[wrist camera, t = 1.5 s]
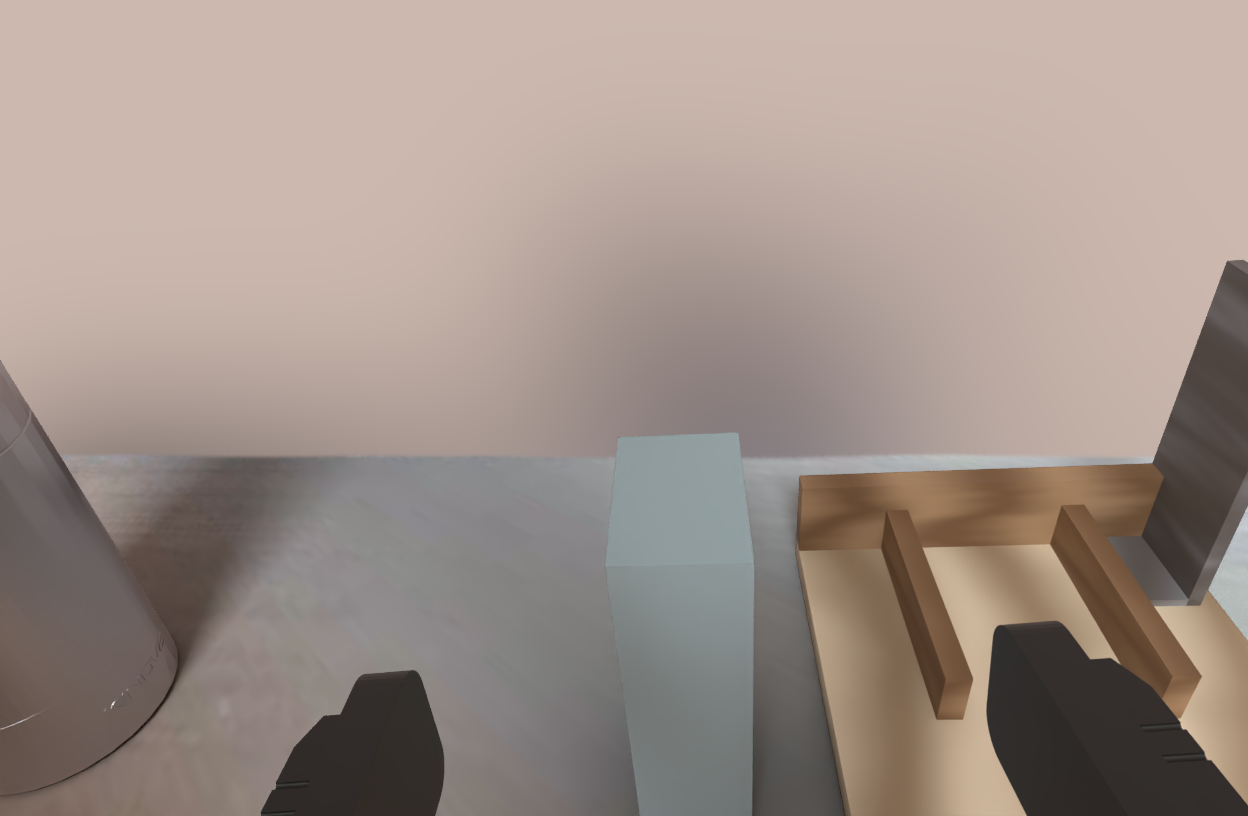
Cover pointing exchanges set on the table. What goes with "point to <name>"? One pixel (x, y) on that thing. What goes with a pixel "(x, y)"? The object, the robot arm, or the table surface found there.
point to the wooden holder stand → (1029, 590)
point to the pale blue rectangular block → (684, 621)
